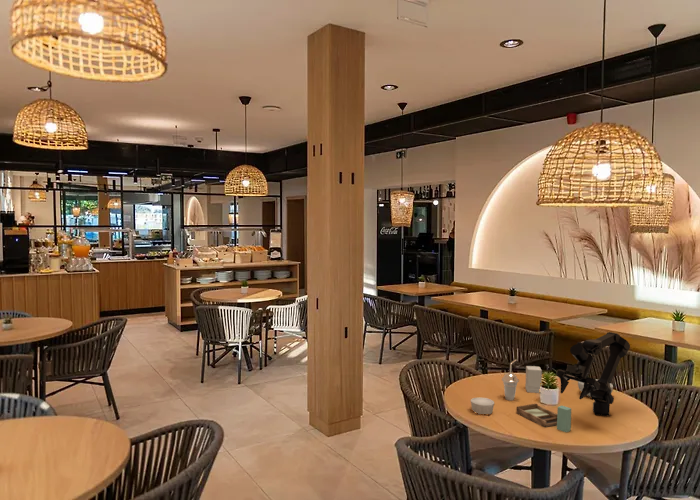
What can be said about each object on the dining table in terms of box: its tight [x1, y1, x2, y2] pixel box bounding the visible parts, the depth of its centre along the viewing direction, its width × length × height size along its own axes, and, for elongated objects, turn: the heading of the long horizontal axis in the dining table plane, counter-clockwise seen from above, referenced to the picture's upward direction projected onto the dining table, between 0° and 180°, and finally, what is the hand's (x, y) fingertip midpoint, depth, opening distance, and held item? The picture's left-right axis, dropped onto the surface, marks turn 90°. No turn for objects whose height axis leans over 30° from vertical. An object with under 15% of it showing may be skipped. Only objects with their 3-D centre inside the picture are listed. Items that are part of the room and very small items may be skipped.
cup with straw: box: [501, 359, 520, 401], centre depth 268 cm, size 8×9×20 cm
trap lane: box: [515, 403, 557, 428], centre depth 242 cm, size 18×12×3 cm, turn 23°
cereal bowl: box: [577, 378, 614, 398], centre depth 275 cm, size 17×17×7 cm
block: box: [556, 405, 572, 433], centre depth 229 cm, size 4×4×10 cm
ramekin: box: [470, 397, 495, 415], centre depth 250 cm, size 11×11×5 cm
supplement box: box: [524, 365, 543, 394], centre depth 282 cm, size 7×7×13 cm
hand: (570, 396), depth 234 cm, fingers open, 9 cm apart
